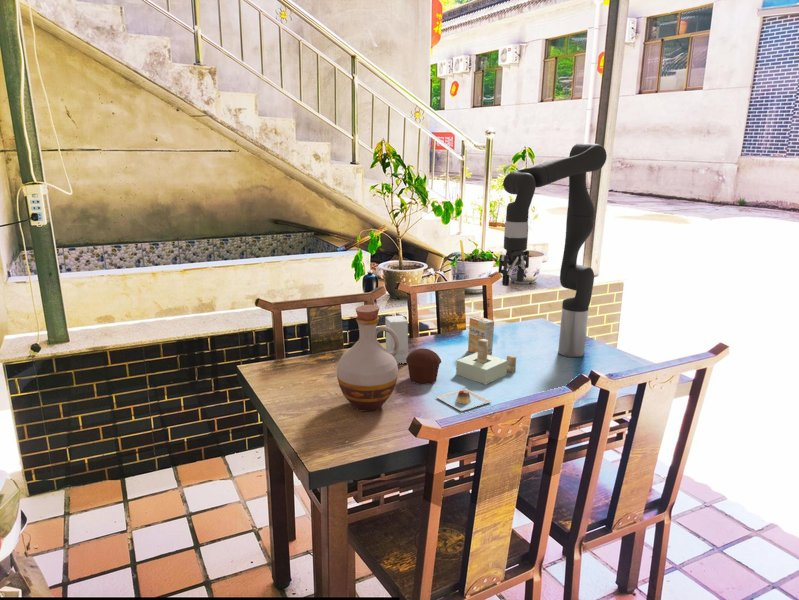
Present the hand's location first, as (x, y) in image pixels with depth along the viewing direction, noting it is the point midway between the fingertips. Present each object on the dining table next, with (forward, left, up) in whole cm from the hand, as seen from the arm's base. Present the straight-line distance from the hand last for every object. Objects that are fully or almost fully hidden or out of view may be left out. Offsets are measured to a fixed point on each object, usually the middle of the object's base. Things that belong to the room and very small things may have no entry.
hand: (512, 283), depth 199 cm
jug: (+54, -12, -30) cm, 63 cm away
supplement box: (-6, -16, -30) cm, 35 cm away
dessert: (+32, +6, -31) cm, 45 cm away
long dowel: (+11, -3, -30) cm, 32 cm away
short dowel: (+1, +2, -30) cm, 30 cm away
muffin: (+28, -14, -30) cm, 44 cm away
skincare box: (+22, -32, -30) cm, 49 cm away
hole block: (+11, -3, -30) cm, 32 cm away
